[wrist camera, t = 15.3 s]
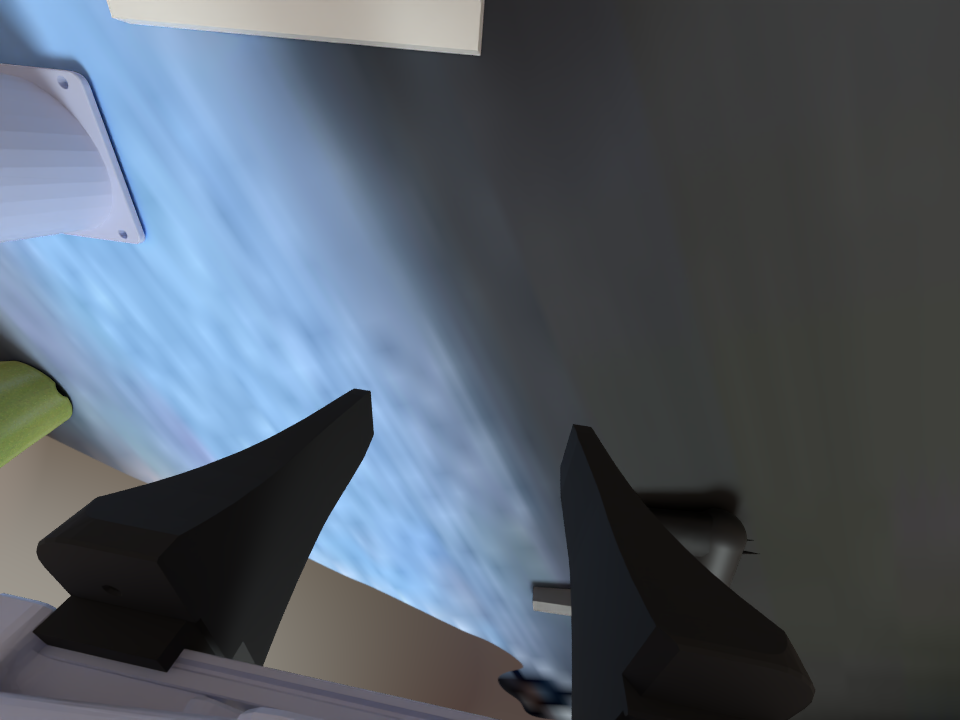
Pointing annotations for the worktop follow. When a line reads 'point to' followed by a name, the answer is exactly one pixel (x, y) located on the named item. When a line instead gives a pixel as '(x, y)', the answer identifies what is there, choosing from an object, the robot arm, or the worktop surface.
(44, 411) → the plant pot
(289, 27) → the notepad
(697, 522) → the door handle
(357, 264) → the worktop surface
